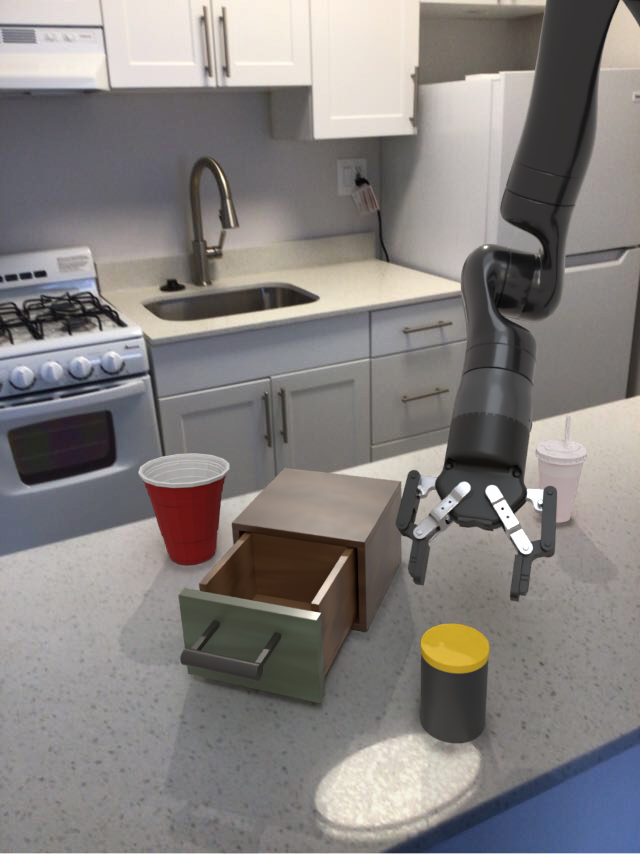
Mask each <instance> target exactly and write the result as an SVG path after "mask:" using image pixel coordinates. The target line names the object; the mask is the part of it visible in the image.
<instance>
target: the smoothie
mask: <svg viewBox="0 0 640 854" xmlns="http://www.w3.org/2000/svg"><path fill="white" fill-rule="evenodd" d="M571 418H572V416H571V415H566V416H565V427H564V428H565V429H564V436H563V439H547V440H542V441H540V442H538V444H536V446H535V451H534V455H535V458H537V469H538V483H539V489H544V488H545V487H547V486H553V487H555V488H556V490H557V513H556V523H557V524H561V523H565V522H568V521H570V520H571V517H572V514H573V509H574V504H575V500H576V496H577V491H578V487H579V483H580V480H581V476H582V473H583V471H582V470H583V468H584V467H583V466H584V463H585V462H586V461H587V460H588V448H587V447H586V446H584V445H583V444H581V443H579V442H576V441H573V440H570V431H571ZM540 515H541V517H542V514H540Z"/></svg>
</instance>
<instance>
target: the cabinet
mask: <svg viewBox="0 0 640 854" xmlns="http://www.w3.org/2000/svg"><path fill="white" fill-rule="evenodd" d="M401 499H402V480H394V479H386V478H375V477H367V476H359V475H351V474H344V473H343V474H342V473H334V472H324V471H315V470H309V469H308V470H307V469H299V468H289V467H283V468H282V470H281V471H279V473H278V474H277V475H276V476H275V477H274V478H273V479H272V480H271V481H270V482H269V483H268V484H267V485H266V486H265V487H264V489H262V491H260V493H259V494H258V495H257V496H256V497H255V498H254V499H253V500H252V501H251V502H250V503H249V504H248V505H247V506H246V507H245V508H244V509H243V510H242V511H241V513H239V515H238V516H236V518H235V519H234V520H233V521H232V522H231V532H232V543H233V544H232V546H233V545H234V544H235V543H236V542H237V541H238V540H239V539H240V537H241V536H242V535H243V534H244V533H245V532H246V531H247V532H254V533H260V534H267V535H274V536H280V537H287V538H294V539H301V540H307V541H314V542H321V543H328V544H334V545H341V546H348V547H354V548H356V560H357V603H358V607H357V608H358V614H357V616H356V618H355V620H354V622H353V624H352V626H351V627H350V629H349V630H355V631H358V632H359V631H360V632H364V633H367V632H368V630H369V628H370V626H371V624H372V621H373V619H374V617H375V616H376V613H377V612H378V611H379V607H380V605H381V604H382V602H383V600H384V597H385V595H386V594H387V591H388V589H389V587H390V585H391V582H392V581H393V579H394V576H395V575H396V572H397V571H398V568H399V566H400V564H401V562H402V535H401V533H400V532H399V530H398V528H397V527H396V519H397V515H398V511H399V507H400V503H401Z"/></svg>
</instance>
